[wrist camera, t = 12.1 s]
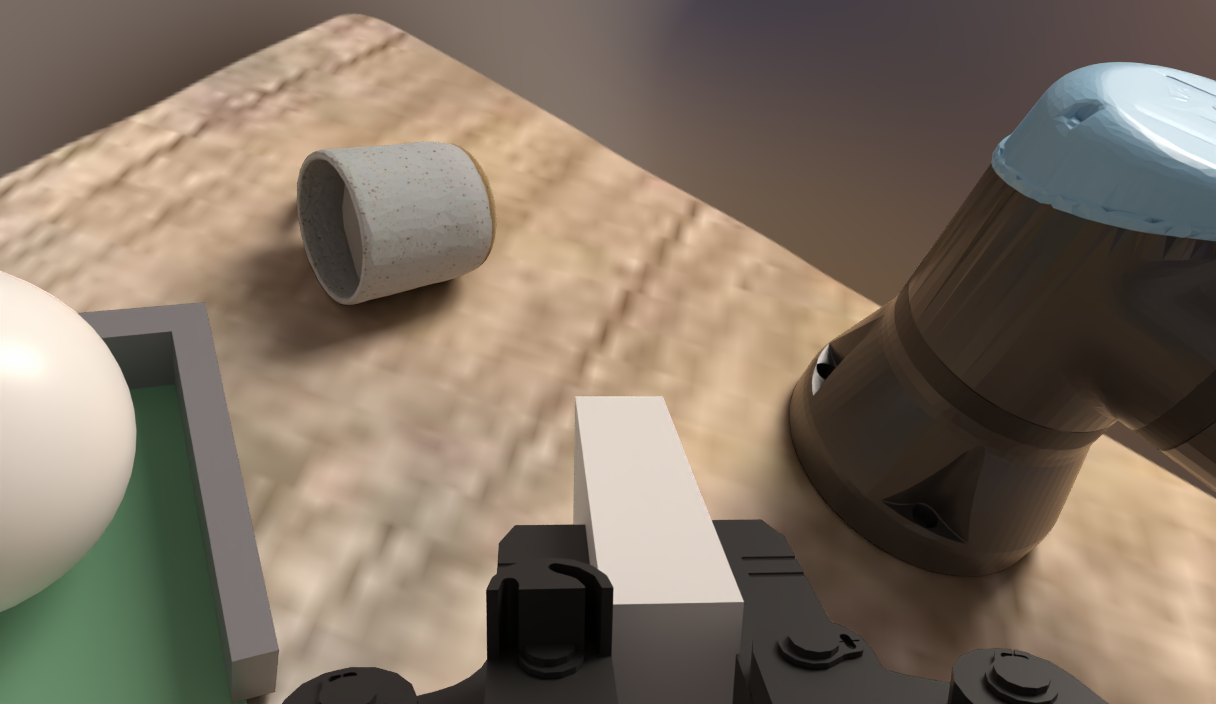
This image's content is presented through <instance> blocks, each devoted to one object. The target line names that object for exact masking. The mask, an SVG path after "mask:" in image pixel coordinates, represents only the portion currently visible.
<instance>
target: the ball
mask: <svg viewBox="0 0 1216 704" xmlns="http://www.w3.org/2000/svg"><path fill="white" fill-rule="evenodd" d="M135 452H136V422H135V412H134V407H133V403H132V399H131V395H130V391H129V388H128V385H127V383H126V380H125V378H124V376H123V373H122V371H121V369H120V367H119V365H118V363H117V361H116V360H115V358H114V356H113V355H112V353H111V351H110V350H109V348H108V347H107V345H106V344H105V342H104V341H103V340H102V339H101V337H100V336H99V335H98V334H97V333H96V331H95V330H94V329H93V328H92V327H91V326H90V325H89V324H88V323H87V322H86V321H85V320H84V319H83V318H82V317H81V316H80V315H79V314H77V313H76V312H75V311H74V310H73V309H71V308H70V307H69V306H67V305H66V304H64V303H63V302H62V301H60V300H59V299H57V298H56V297H54V296H53V295H51V294H49V293H47V292H46V291H44V290H42V289H40V288H38V287H36V286H35V285H33V284H31V283H29V282H27V281H25V280H22V279H20V278H17V277H15V276H12V275H10V274H7V273H5V272H1V271H0V612H2V611H4V610H7V609H9V608H12V607H14V606H16V605H18V604H20V603H21V602H23V601H25V600H27V599H28V598H30V597H32V596H34V595H36V594H37V593H39V592H41V591H43V590H44V589H45V588H47V587H48V586H50V585H51V584H52V583H54V582H55V581H57V580H58V579H59V578H61V577H62V576H64V575H65V574H66V573H67V572H68V571H69V570H70V569H71V568H72V567H73V566H75V565H76V564H77V563H78V562H79V561H80V560H81V559H82V558H83V557H84V556H85V555H86V554H87V553H88V551H89V550H90V549H91V548H92V547H93V546H94V545H95V543H96V542H97V541H98V540H99V539H100V537H101V536H102V534H103V533H104V531H105V530H106V528H107V527H108V525H109V524H110V522H111V521H112V519H113V517H114V515H115V513H116V511H117V509H118V507H119V505H120V504H121V502H122V500H123V497H124V495H125V492H126V489H127V486H128V483H129V480H130V477H131V473H132V468H133V463H134V458H135Z"/></svg>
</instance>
